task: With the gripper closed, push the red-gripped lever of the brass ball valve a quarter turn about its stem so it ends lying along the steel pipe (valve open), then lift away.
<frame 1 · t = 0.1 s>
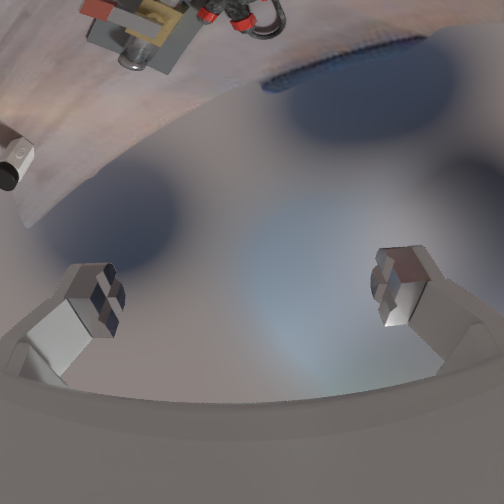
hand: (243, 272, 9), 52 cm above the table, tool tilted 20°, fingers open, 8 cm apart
pipe valve: (163, 13, 38), resting on mat
jar: (23, 148, 58), on the table
lever: (121, 14, 30), point 10 cm above the table, hinge at 0.0°
mat: (154, 9, 37), on the table
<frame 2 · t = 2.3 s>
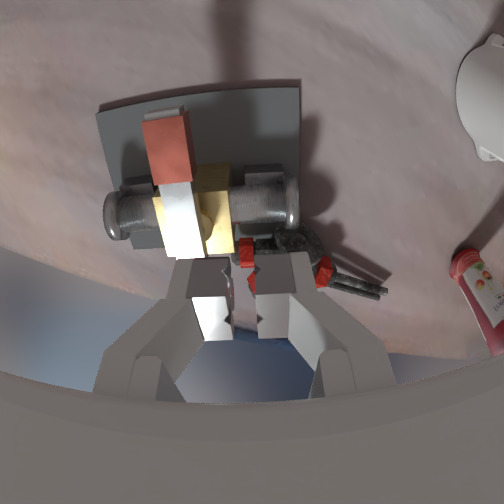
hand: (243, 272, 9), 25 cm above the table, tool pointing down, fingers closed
pipe valve: (204, 189, 34), resting on mat
liquor: (460, 258, 42), on the table
valve: (308, 272, 43), on the table, touching mat
lever: (180, 191, 23), point 10 cm above the table, hinge at 0.0°
mat: (201, 174, 33), on the table
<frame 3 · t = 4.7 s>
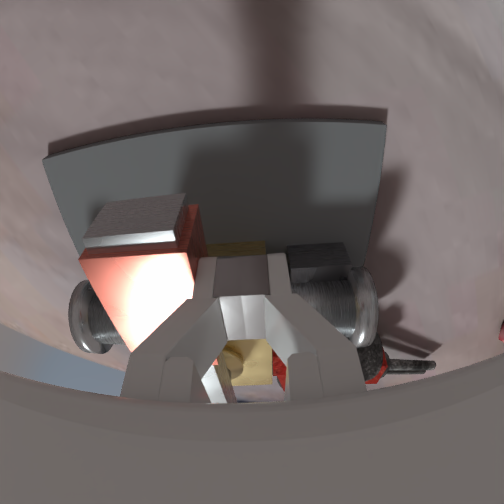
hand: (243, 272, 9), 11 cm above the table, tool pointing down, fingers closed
pipe valve: (220, 273, 23), resting on mat
valve: (350, 356, 32), on the table, touching mat
lever: (190, 350, 12), point 10 cm above the table, hinge at 0.3°, touching gripper
mat: (216, 253, 22), on the table
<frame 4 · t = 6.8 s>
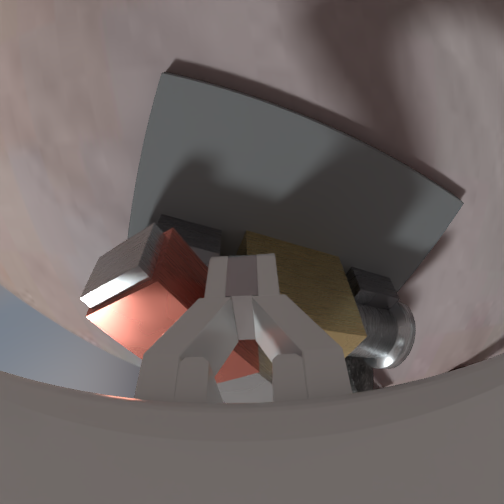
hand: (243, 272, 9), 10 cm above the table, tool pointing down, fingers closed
pipe valve: (274, 272, 23), resting on mat
valve: (324, 375, 34), on the table, touching mat
lever: (242, 362, 12), point 10 cm above the table, hinge at 49.4°, touching gripper
mat: (285, 253, 22), on the table
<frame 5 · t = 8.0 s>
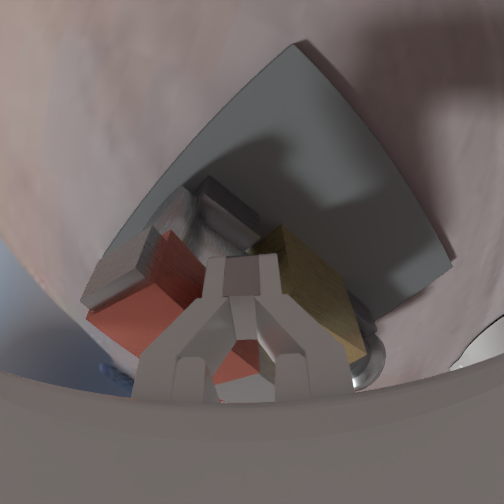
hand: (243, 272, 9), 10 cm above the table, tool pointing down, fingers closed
pipe valve: (277, 272, 23), resting on mat
lever: (244, 362, 12), point 10 cm above the table, hinge at 74.6°, touching gripper
mat: (297, 257, 22), on the table
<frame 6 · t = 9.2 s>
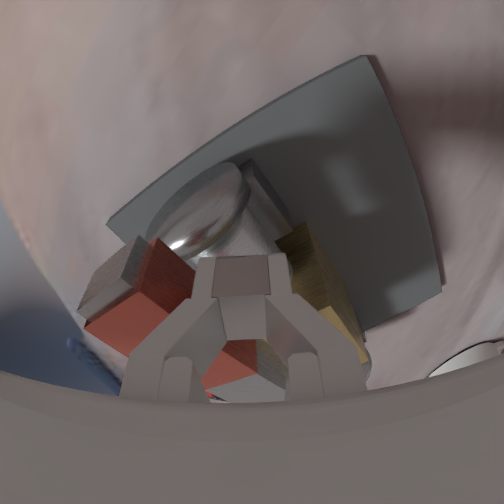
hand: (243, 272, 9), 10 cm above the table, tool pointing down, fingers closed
pipe valve: (284, 269, 23), resting on mat
lever: (247, 363, 12), point 10 cm above the table, hinge at 92.1°, touching gripper
mat: (307, 258, 22), on the table
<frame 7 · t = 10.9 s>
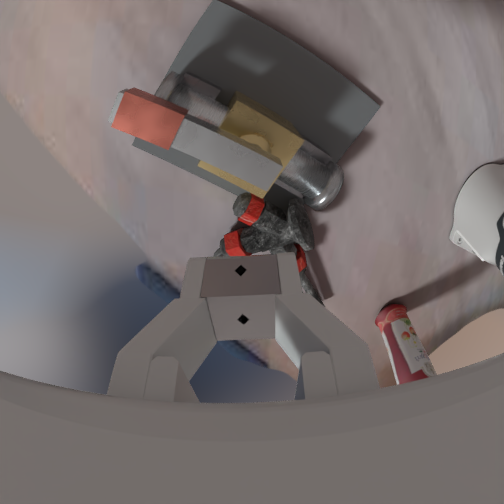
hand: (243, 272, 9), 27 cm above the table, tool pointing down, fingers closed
pipe valve: (247, 130, 32), resting on mat
liquor: (388, 310, 54), on the table
valve: (272, 259, 43), on the table, touching mat
lever: (196, 135, 22), point 10 cm above the table, hinge at 92.1°
mat: (256, 115, 31), on the table
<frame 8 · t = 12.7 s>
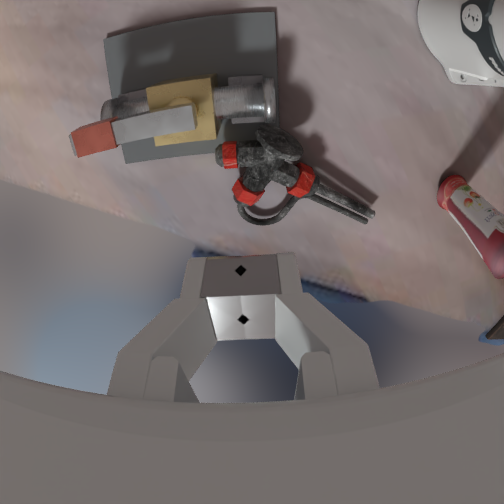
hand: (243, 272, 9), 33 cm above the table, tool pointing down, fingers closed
pipe valve: (193, 100, 35), resting on mat
liquor: (448, 188, 43), on the table
valve: (293, 188, 43), on the table, touching mat
lever: (130, 127, 27), point 10 cm above the table, hinge at 92.1°
mat: (191, 86, 34), on the table
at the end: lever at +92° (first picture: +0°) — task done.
